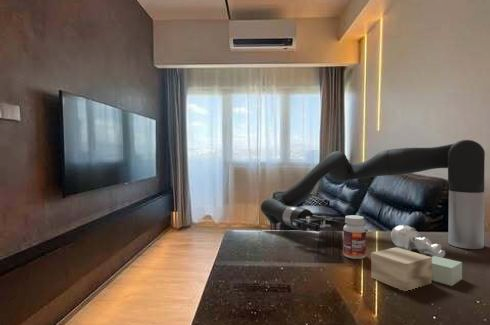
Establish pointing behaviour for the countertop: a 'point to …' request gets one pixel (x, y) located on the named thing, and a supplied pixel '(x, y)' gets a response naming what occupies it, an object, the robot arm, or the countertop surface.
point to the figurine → (415, 241)
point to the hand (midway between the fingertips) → (329, 226)
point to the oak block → (401, 268)
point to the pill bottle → (354, 237)
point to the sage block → (446, 270)
